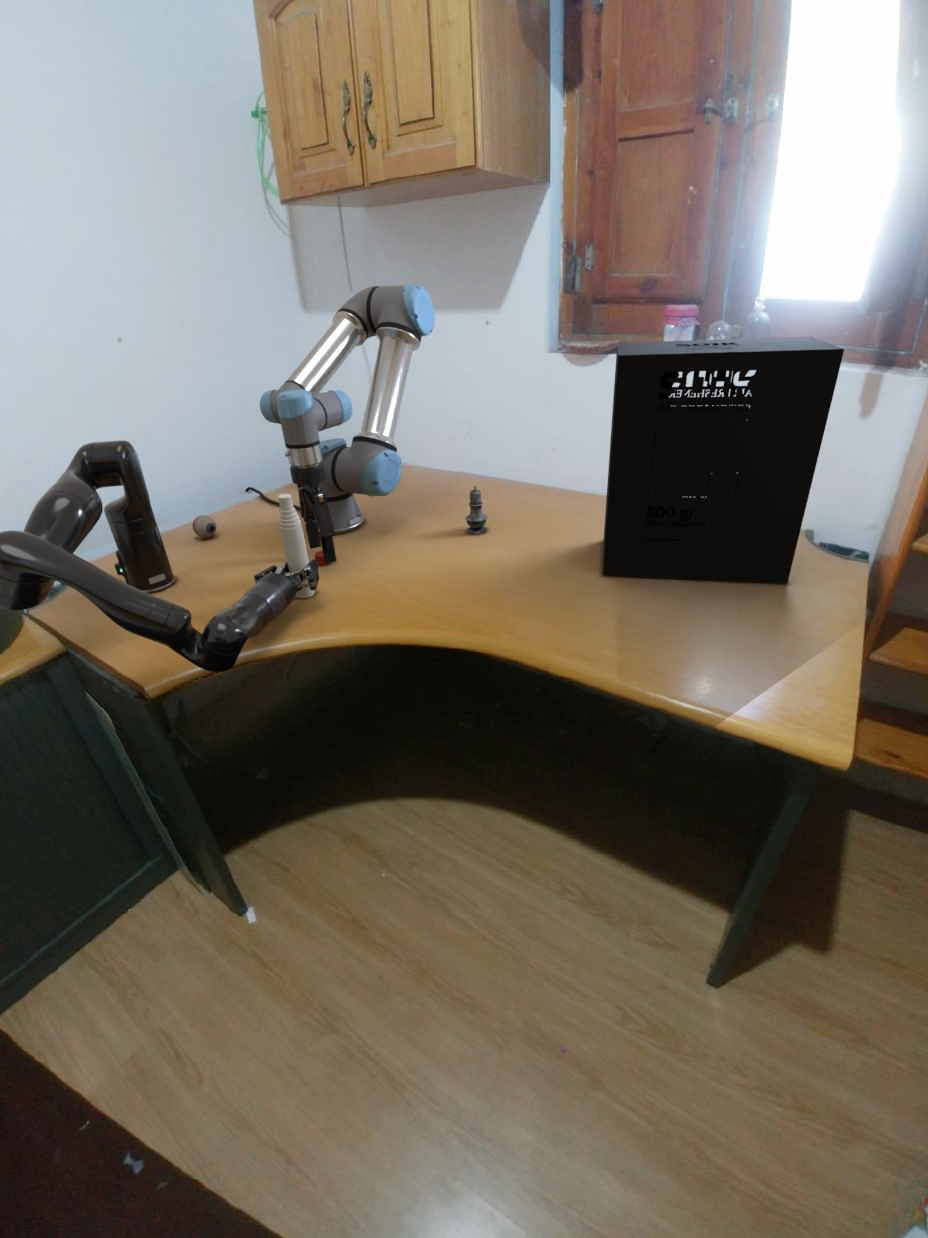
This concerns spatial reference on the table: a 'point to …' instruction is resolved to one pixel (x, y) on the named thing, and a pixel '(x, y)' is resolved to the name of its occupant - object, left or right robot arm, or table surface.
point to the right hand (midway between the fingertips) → (322, 554)
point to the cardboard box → (714, 456)
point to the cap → (320, 558)
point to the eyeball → (204, 526)
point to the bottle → (293, 540)
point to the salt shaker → (476, 514)
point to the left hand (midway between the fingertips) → (304, 562)
